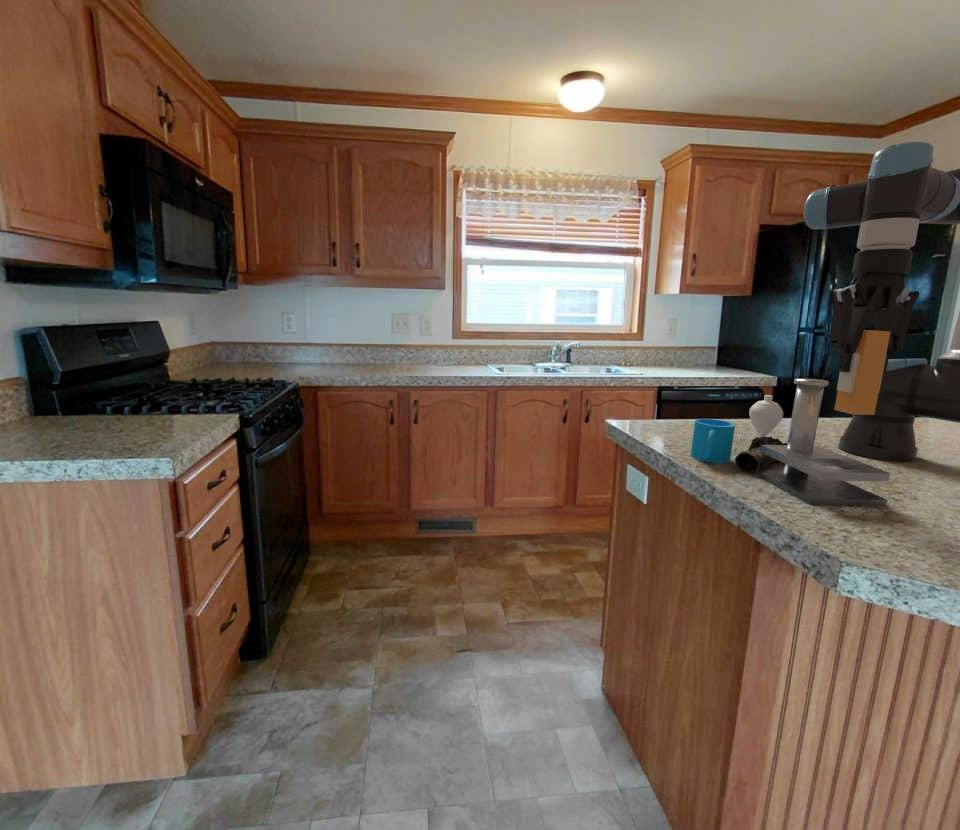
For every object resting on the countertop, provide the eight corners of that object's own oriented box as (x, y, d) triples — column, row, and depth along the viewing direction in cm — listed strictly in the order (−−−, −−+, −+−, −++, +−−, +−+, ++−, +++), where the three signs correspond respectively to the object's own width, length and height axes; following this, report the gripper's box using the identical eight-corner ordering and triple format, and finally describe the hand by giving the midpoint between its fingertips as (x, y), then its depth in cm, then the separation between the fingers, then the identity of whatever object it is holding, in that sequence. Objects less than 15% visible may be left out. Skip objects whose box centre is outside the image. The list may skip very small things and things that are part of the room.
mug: (692, 451, 120) (696, 417, 118) (730, 456, 116) (735, 422, 114) (686, 463, 109) (690, 426, 108) (728, 470, 105) (733, 432, 104)
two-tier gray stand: (817, 474, 105) (834, 379, 101) (888, 506, 88) (912, 393, 84) (752, 472, 104) (766, 377, 100) (811, 505, 87) (831, 391, 83)
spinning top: (785, 444, 129) (793, 397, 127) (760, 444, 128) (767, 398, 125) (763, 436, 137) (770, 392, 134) (738, 437, 135) (745, 392, 132)
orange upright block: (855, 410, 90) (870, 330, 87) (874, 414, 86) (890, 331, 83) (834, 409, 90) (848, 329, 87) (852, 414, 86) (867, 330, 83)
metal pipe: (757, 476, 103) (761, 449, 102) (724, 468, 108) (727, 442, 107) (791, 462, 114) (795, 437, 113) (760, 455, 119) (763, 432, 118)
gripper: (912, 254, 87) (885, 389, 92) (817, 250, 85) (795, 387, 90) (955, 249, 79) (923, 396, 84) (853, 244, 78) (826, 394, 83)
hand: (857, 391), depth 87 cm, fingers closed on orange upright block, 4 cm apart
